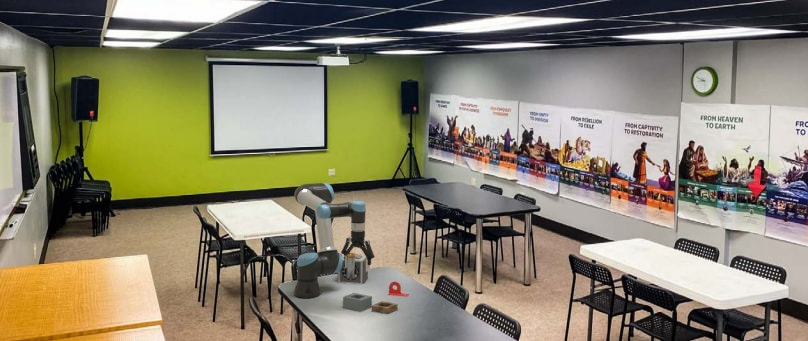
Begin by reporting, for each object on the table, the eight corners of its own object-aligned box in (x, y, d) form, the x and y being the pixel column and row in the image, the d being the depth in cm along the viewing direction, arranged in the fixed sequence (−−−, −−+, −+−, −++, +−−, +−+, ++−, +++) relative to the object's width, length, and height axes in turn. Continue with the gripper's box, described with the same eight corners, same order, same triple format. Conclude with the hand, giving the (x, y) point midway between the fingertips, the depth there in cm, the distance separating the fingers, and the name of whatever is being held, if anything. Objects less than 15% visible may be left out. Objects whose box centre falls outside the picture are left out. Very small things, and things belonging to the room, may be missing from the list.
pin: (344, 277, 344) (345, 253, 342) (349, 275, 348) (350, 252, 346) (351, 279, 341) (352, 255, 340) (356, 277, 345) (357, 253, 344)
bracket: (387, 296, 366) (387, 283, 365) (389, 294, 370) (389, 281, 370) (407, 298, 363) (408, 284, 363) (409, 295, 368) (409, 282, 367)
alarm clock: (335, 285, 387) (335, 256, 386) (341, 280, 400) (341, 251, 399) (364, 287, 384) (364, 257, 383) (369, 282, 397) (369, 253, 396)
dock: (342, 307, 342) (343, 297, 341) (353, 303, 350) (353, 292, 350) (361, 311, 336) (361, 300, 335) (371, 307, 344) (371, 296, 344)
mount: (371, 311, 337) (371, 305, 337) (381, 306, 346) (382, 301, 345) (387, 314, 332) (387, 308, 332) (397, 309, 340) (397, 303, 340)
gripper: (335, 228, 343) (334, 267, 345) (373, 234, 330) (372, 274, 332) (343, 226, 349) (342, 264, 351) (381, 231, 336) (380, 271, 339)
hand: (357, 269), depth 342 cm, fingers open, 13 cm apart
